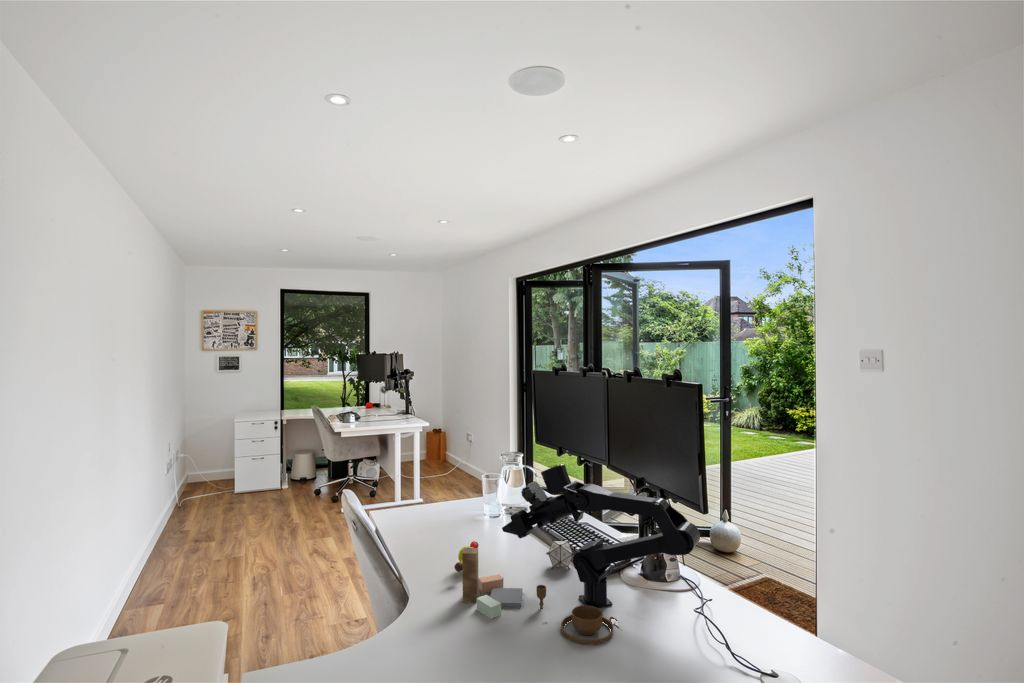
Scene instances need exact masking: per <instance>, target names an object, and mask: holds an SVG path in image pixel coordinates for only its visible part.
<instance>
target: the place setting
mask: <svg viewBox="0 0 1024 683" xmlns="http://www.w3.org/2000/svg"><path fill="white" fill-rule="evenodd" d="M535 588H536V589H535V590H536V592H535V593H536V597H537V598H538V599H539V603H538V605H539V608H540V609H539V610H541V609H542V610H544V609H543V608H544V599H545V598H546V596H547V586H546V585H543V584H538V585H536V587H535ZM611 619H615V620H616V621H618V619H617V618H615V617H614V616H610V617H609V619H607V618H606V617H605V616H603V612H602V609H599V608H596V607H593V606H588V605H585V604H583V605H578V606H576V607H573V609H572V610H571V614H570V615H568V616H565V618H563V619H562V620H561V622H560V628H561V629H560V630H561V632H562V634H563V635H564V637H565V638H567V639H568V640H569V641H571V640H572V642H574V643H576V642H577V644H580V643H581V644H580V645H586V644H594V645H599V644H598V643H600V644H602V642H603V643H606V642H608V641H609V640H610V639H611V638H612V636H613V634H614V625H613V624H612V622H611ZM571 620H572V622H571V624H572V626H573V628H574V629H575V630H577V632H579V634H580V635H583V634H584V635H583V636H593V635H594V633H595V634H596V633H597V632H599V630H600V629H601V628H602V625H603V624H602V622H604V623H605V624H607V625H608V627H609V628H610V629H611V633H610V632H609V633H608V635H605V636H604V637H600V638H597V639H596V638H595V639H588V638H587V639H586V638H579V637H576V636H573V635H571V634H569V633H568V632H567V631H566V630H564V626H565V624H567V622H569V621H571ZM618 622H619V621H618ZM542 623H543V624H544V623H545V624H547V621H544V622H542ZM567 625H568V624H567ZM608 627H607V628H608ZM592 634H593V635H592ZM610 637H611V638H610ZM608 639H609V640H608Z"/></svg>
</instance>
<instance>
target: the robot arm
mask: <svg viewBox="0 0 1024 683" xmlns="http://www.w3.org/2000/svg"><path fill="white" fill-rule="evenodd" d="M540 475H541V477H542V479H543V482H544V485H545V487H546V489H547V492H548V494H550V495H551V494H552V495H554V496H549V495H548V496H547V494H546V492H545V490H544V489H543V488H542V487H541V485H540V483H538V482H537V481H533V482H530V483H528V484H527V485H526V486H525V487H522V489H521V491H520V493H521V496H522V498H523V499H524V501H526V502H528V503H529V504H530V505H529V506H528V507H529V511H526V510H525V509H521V510H518V511H516V512H515V513H513V514H511V515H510V519H511V521H510V522H508V523H507V524H505V525H503V527H501V530H502V532H504V533H507V534H512V535H515V536H517V537H518V539H523V538H525V537H528V536H529V535H531V534H532V533H533V531H534V526H535V525H537V526H536V527H537V528H538V529H539V528H542V527H544V526H545V525H547V524H554V523H555V522H557V521H560V520H562V519H565V518H567V517H571V516H572V517H573V521H574V522H575V523H578V522H579V521H580V520H582V519H583V518H584V513H585V512H589V513H590V512H599V511H611V512H612V511H614V512H618V513H625V514H631V515H638V516H645V517H650V518H652V519H653V521H654V522H655V523H656V525H657V527H658V529H659V531H660V533H657V534H652V535H648V536H643V537H638V538H635V539H630V540H626V541H622V542H621V541H620V542H617V543H613V544H606V543H604V542H603V538H599V539H597V540H593V541H592V540H589V541H587V542H586V543H585V544H583V545H582V546H581V547H579V548H578V551H576V552H575V553H574V555H573V556H572V564H573V567H574V569H575V571H576V572H577V576H578V579H579V582H580V583H582V584H583V594H580V595H578V599H579V600H580V601H581V602H582V603H583V605H588V606H593V607H596V608H598V609H599V608H603V607H608V606H609V607H610V606H612V605H613V602H612V601H611V599H609V598H608V596H607V595H608V594H607V592H608V591H607V590H608V586H607V585H608V584H607V582H608V581H607V576H608V575H610V574H611V572H612V568H613V566H612V564H614V563H619V562H624V561H629V560H633V559H634V560H635V559H639V558H643V557H647V556H648V557H649V556H653V555H658V554H664V555H668V556H687V555H689V554H691V552H692V551H693V550H694V549H695V547H696V546H697V545H698V543H699V542H700V540H701V532H700V529H699V528H698V527H697V526H696V525H695V524H694V523H692V522H690V521H689V520H688V519H687V518H686V517H685V516H684V514H682V513H681V512H679V511H678V510H677V509H675V508H674V507H673V506H671V504H670V503H669V502H668V501H667V500H666V499H665V498H662V497H657V498H656V497H649V496H641V495H635V494H628V493H622V492H614V491H611V490H608V489H607V488H606V487H603V486H600V485H597V484H594V483H583V482H580V481H578V480H574V481H571V478H570V476H569V474H568V471H567V467H566V464H564V463H562V464H559V465H554V466H552V467H550V468H547V469H544V470H542V471H540ZM560 493H561V494H560ZM558 494H560V495H558ZM555 495H557V496H555Z"/></svg>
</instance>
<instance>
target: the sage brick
mask: <svg viewBox="0 0 1024 683" xmlns="http://www.w3.org/2000/svg"><path fill="white" fill-rule="evenodd" d="M476 601H477V602H476V610H477V611H479V612H480V613H481V612H482V613H481V614H483V615H484V614H485V615H484V616H485V617H487V616H488V617H487V618H489V619H490V618H491V619H490V620H493V619H495V618H497V617H500V616H502V607H501V603H500V602H498V601H496V600H494V599H493V598H491V597H490V596H489V595H488V594H485V595H482V596H478V598H476ZM494 617H495V618H494ZM492 618H493V619H492Z"/></svg>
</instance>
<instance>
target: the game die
mask: <svg viewBox="0 0 1024 683" xmlns="http://www.w3.org/2000/svg"><path fill="white" fill-rule="evenodd" d="M570 540H571V539H570V538H568V540H567V541H566V540H554V538H551V541H552V543H551V544H550V545H551V546H550V547H549V550H548V552H546V553H545V554H546V555H547V556H548V558H549V561H550V562H551V565H552V566H551V570H553V569H554V568H567V570H569V571H570V570H571V568H570V563H571V562H572V560H573V557H574V554H575V553H573V551H572V548H571V546H570Z"/></svg>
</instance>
